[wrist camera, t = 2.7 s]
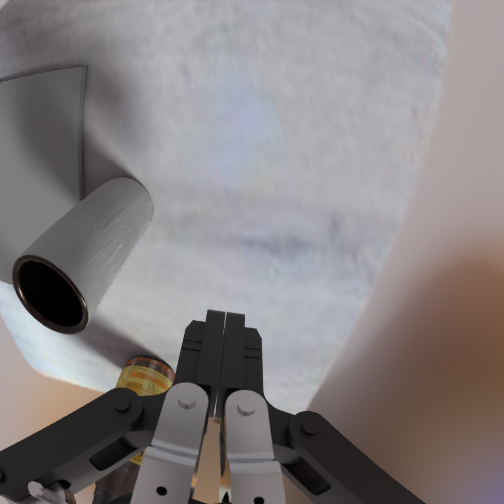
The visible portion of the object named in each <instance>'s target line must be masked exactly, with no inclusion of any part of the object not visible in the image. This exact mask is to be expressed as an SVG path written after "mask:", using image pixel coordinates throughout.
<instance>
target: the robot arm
mask: <svg viewBox="0 0 504 504" xmlns="http://www.w3.org/2000/svg"><path fill="white" fill-rule="evenodd" d="M224 322H225V327H224ZM223 331H224V334H223ZM216 397H217V402H216ZM215 403H216V413H215V417H216V418H221V422H220V432H219V466H220V483H219V500H220V503H218V504H286V501H285V494H284V487H283V479H282V472H283V473H284V474H285V475H286V476H287V477H288V478H289V479H290V480H291V481H292V482H293V483H294V484H295V485H296V486H297V487H298V488H299V489H300V490H301V491H302V492H303V493H304V494H305V495H306V496H307V497H308V498H309V499H310V500H312V501H313V502H314V503H315V504H426V503H424V502H423V501H422V500H420V499H419V498H418V497H416V496H415V495H414V494H412V493H411V492H410V491H409V490H407V489H406V488H405V487H404V486H402V485H401V484H400V483H398V482H397V481H396V480H395V479H393V478H392V477H391V476H390V475H389V474H387V473H386V472H385V471H384V470H382V469H381V468H380V467H379V466H378V465H376V464H375V463H374V462H373V461H372V460H371V459H369V458H368V457H367V456H366V455H365V454H364V453H362V452H361V451H360V450H359V449H358V448H357V447H355V446H354V445H353V444H352V443H351V442H350V441H349V440H348V439H346V438H345V437H344V436H343V435H342V434H341V433H340V432H339V431H338V430H336V429H335V428H334V427H333V426H332V425H331V424H330V423H329V422H328V421H327V420H326V419H325V418H324V417H322V416H321V415H320V414H318V413H315V412H311V411H303V412H300V413H297V414H296V415H293V414H290V413H287V412H284V411H281V410H278V409H276V408H275V407H273V406H272V405H271V404H270V403H269V402H268V401H267V400H266V398H265V396H264V392H263V365H262V338H261V337H260V335H259V333H258V331H257V329H255V328H247V327H245V314H238V313H230V312H227V315H226V321H225V312H222V311H215V310H208V311H207V316H206V322H202V321H195V320H193V321H192V322H191V323H190V324H189V325H188V327H187V328H186V330H185V334H184V338H183V342H182V347H181V351H180V356H179V360H178V365H177V369H176V374H175V378H174V382H173V384H172V385H171V387H170V388H169V389H168V390H166V391H165V392H163V393H160V394H157V395H148V396H139V395H138V394H137V393H136V392H134V391H133V390H131V389H128V388H123V387H119V388H114V389H112V390H110V391H108V392H106V393H105V394H103V395H102V396H100V397H98V398H96V399H95V400H93V401H91V402H90V403H88V404H86V405H84V406H83V407H81V408H79V409H77V410H76V411H74V412H72V413H71V414H69V415H67V416H65V417H63V418H62V419H60V420H58V421H56V422H54V423H53V424H51V425H49V426H47V427H45V428H44V429H42V430H40V431H38V432H36V433H34V434H32V435H31V436H29V437H27V438H25V439H23V440H21V441H19V442H17V443H15V444H14V445H12V446H10V447H8V448H6V449H4V450H2V451H0V495H1V496H2V497H4V498H5V499H6V500H7V501H8V503H9V504H76V500H75V498H74V494H75V493H77V492H79V491H81V490H83V489H84V488H86V487H87V486H89V485H91V484H93V483H94V482H96V481H98V480H99V479H101V478H102V477H104V476H106V475H107V474H109V473H110V472H112V471H113V470H115V469H116V468H118V467H120V466H121V465H123V464H124V463H126V462H127V461H129V460H130V459H131V458H133V457H134V456H136V455H137V454H139V453H140V452H142V451H143V450H145V449H146V448H147V449H146V451H145V453H144V456H143V460H142V463H141V467H140V470H139V474H138V477H137V481H136V484H135V488H134V491H133V492H130V493H126V494H123V495H120V496H118V497H116V498H114V499H112V500H111V501H109V502H108V503H106V504H206V503H203V502H200V501H197V500H194V499H193V496H194V491H195V485H196V478H197V472H198V467H199V462H200V457H201V451H202V446H203V441H204V436H205V434H206V432H207V426H208V417H213V416H214V410H215ZM281 471H282V472H281Z"/></svg>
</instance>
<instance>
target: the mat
mask: <svg viewBox="0 0 504 504" xmlns="http://www.w3.org/2000/svg"><path fill="white" fill-rule="evenodd" d="M86 75H87V66H82V67H74V68H67V69H60V70H54V71H48V72H43V73H38V74H33V75H28V76H24V77H20V78H16V79H12V80H8V81H4V82H1V83H0V281H3V282H6V283H9V284H12V285H13V281H12V268H13V265H14V262H15V261H16V259H17V258H18V257H19V256H20V255H21V254H22V253H23V252H24V251H25V250H26V249H27V248H28V247H29V246H30V245H31V244H32V243H33V242H34V241H36V240H37V239H38V238H39V237H40V236H41V235H42V234H43V233H44V232H45V231H46V230H47V229H49V228H50V227H51V226H52V225H53V224H54V223H55V222H57V221H58V220H59V219H60V218H61V217H62V216H64V215H65V214H66V213H67V212H68V211H69V210H71V209H72V208H73V207H74V206H76V205H77V204H78V203H79V202H81V201H82V200H83V199H84V194H83V171H82V131H83V109H84V95H85V84H86Z"/></svg>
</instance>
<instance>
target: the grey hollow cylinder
mask: <svg viewBox="0 0 504 504" xmlns="http://www.w3.org/2000/svg"><path fill="white" fill-rule="evenodd" d="M152 216H153V204H152V200H151V198H150V195H149V194H148V192H147V190H146V189H145V188H144V187H143V186H142V185H141V184H140V183H138V182H137V181H135V180H133V179H131V178H127V177H116V178H113V179H111V180H109V181H107V182H105V183H104V184H102V185H101V186H100V187H98V188H97V189H96V190H95V191H93V192H92V193H91V194H89V195H88V196H87V197H86V198H84V199H83V200H82V201H81V202H79V203H78V204H77V205H76V206H74V207H73V208H72V209H71V210H69V211H68V212H67V213H66V214H65V215H64V216H62V217H61V218H60V219H59V220H58V221H57V222H55V223H54V224H53V225H52V226H51V227H50V228H49V229H47V230H46V231H45V232H44V233H43V234H42V235H41V236H40V237H39V238H38V239H37V240H36V241H34V242H33V243H32V244H31V245H30V246H29V247H28V248H27V249H26V250H25V251H24V252H23V253H22V254H21V255H20V256H19V257H18V258H17V259H16V261H15V262H14V265H13V268H12V281H13V285H14V289H15V291H16V294H17V296H18V298H19V300H20V301H21V303H22V304H23V306H24V307H25V308H26V310H27V311H28V312H29V313H30V314H31V315H32V316H33V317H34V318H35V319H36V320H37V321H39V322H40V323H41V324H43V325H44V326H46V327H47V328H49V329H51V330H53V331H56V332H59V333H62V334H77V333H80V332H82V331H83V330H84V329H85V328H86V327H87V325H88V324H89V322H90V320H91V318H92V317H93V315H94V313H95V311H96V309H97V308H98V306H99V304H100V302H101V301H102V299H103V297H104V295H105V294H106V292H107V290H108V289H109V287H110V285H111V284H112V282H113V280H114V279H115V277H116V275H117V274H118V272H119V270H120V269H121V267H122V266H123V264H124V262H125V261H126V259H127V258H128V256H129V255H130V253H131V251H132V250H133V248H134V247H135V245H136V244H137V242H138V241H139V239H140V238H141V236H142V235H143V233H144V232H145V230H146V229H147V227H148V225H149V224H150V222H151V219H152Z"/></svg>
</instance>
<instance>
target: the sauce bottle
mask: <svg viewBox="0 0 504 504" xmlns="http://www.w3.org/2000/svg"><path fill="white" fill-rule="evenodd" d="M174 378H175V373H174V372H173V371H172V370H171V369H170V368H169V367H168V366H167V365H165V364H164V363H162V362H159V361H157V360H154V359H150V358H147V357H137V358H133V359H131V360H129V361H128V362H127V363H126V365H125V367H124V369H123V370H122V372H121V374H120V377H119V380H118V382H117V385H116V387H115V388H119V387H123V388H128V389H131V390H133V391H134V392H136V393H137V394H138V395H139V396H148V395H157V394H160V393H163V392H165V391H166V390H168V389H169V388H170V387H171V385H172V384H173V382H174ZM146 449H147V448H146ZM146 449H145V450H143V451H142V452H140V453H139V454H137V455H136V456H134V457H133V458H131V459H130V460H129V461H127V462H126V463H124V464H123V465H121V466H120V467H118V468H116V469H115V470H113V471H112V472H110V473H109V474H107V475H106V476H104V477H102V478H101V479H99V480H98V481H96V482H95V484H96V488H95V491H94V499H93V502H92V504H106V503H108V502H109V501H111V500H112V499H114V498H116V497H118V496H120V495H123V494H126V493H130V492H133V491H134V488H135V484H136V481H137V477H138V474H139V470H140V467H141V463H142V460H143V456H144V453H145V451H146Z"/></svg>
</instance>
